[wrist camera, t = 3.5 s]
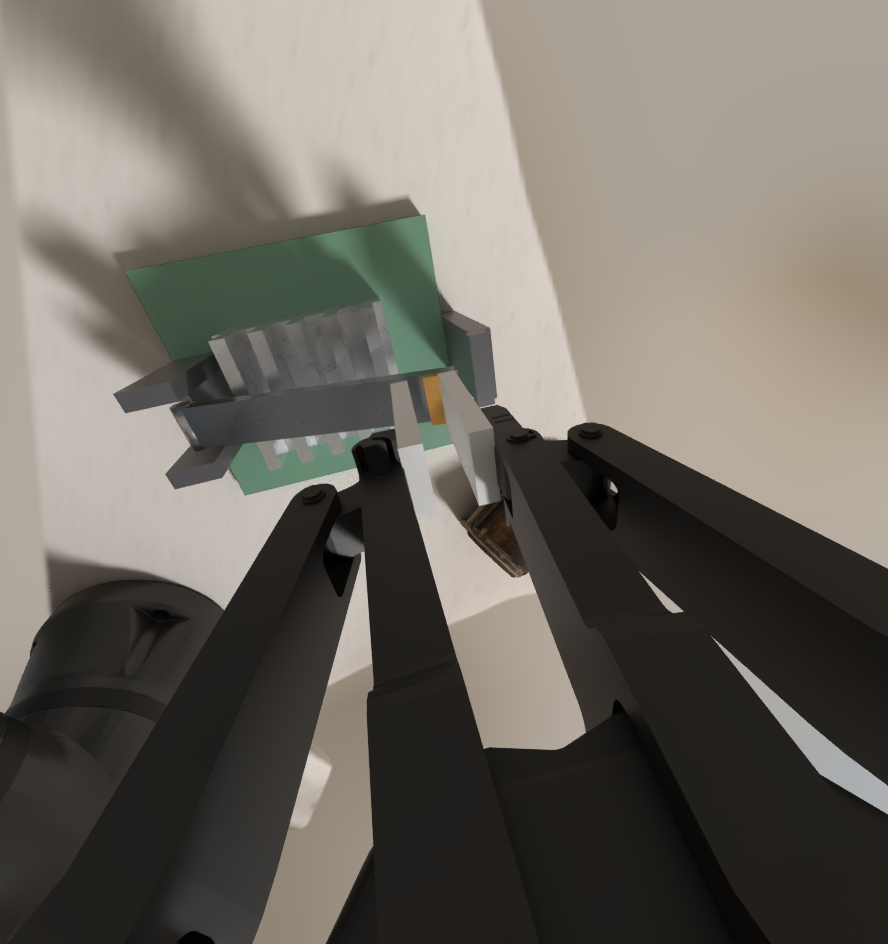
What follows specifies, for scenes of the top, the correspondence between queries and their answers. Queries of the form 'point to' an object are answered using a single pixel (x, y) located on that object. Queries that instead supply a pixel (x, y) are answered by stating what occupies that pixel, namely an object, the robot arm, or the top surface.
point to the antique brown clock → (496, 537)
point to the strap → (308, 410)
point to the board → (297, 291)
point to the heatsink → (306, 362)
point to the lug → (471, 355)
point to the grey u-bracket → (172, 386)
